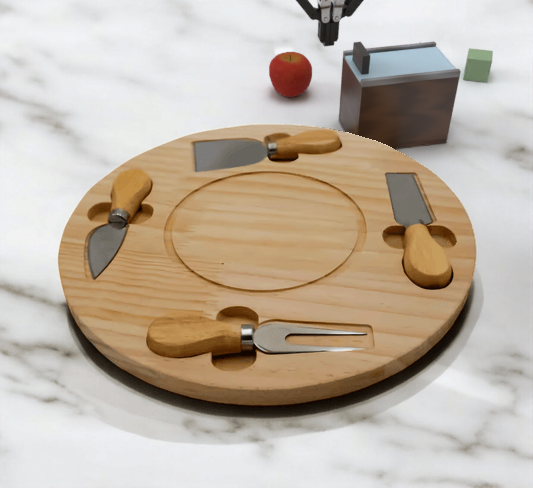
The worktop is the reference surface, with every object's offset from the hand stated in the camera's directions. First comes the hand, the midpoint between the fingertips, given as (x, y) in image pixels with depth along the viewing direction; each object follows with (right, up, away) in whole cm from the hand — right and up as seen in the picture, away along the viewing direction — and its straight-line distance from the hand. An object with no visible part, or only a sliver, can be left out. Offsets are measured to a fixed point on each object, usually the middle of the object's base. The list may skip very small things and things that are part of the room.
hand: (327, 43), depth 98 cm
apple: (-5, -2, +23) cm, 24 cm away
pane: (+12, -2, +5) cm, 13 cm away
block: (+31, +2, +27) cm, 41 cm away
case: (+12, -11, +13) cm, 21 cm away
